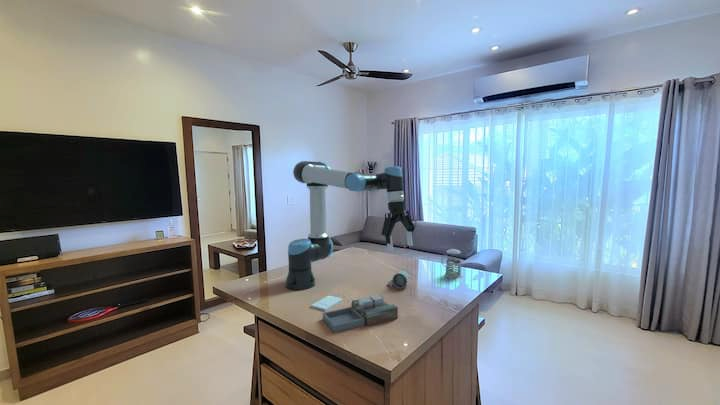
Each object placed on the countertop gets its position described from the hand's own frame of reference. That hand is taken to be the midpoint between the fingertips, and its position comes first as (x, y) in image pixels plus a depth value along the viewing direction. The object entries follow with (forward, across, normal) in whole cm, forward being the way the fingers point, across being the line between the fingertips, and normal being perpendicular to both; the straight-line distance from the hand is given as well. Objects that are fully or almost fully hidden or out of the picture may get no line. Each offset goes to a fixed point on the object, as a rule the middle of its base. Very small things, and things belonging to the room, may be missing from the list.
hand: (400, 248), depth 132 cm
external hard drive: (+22, -28, +22) cm, 41 cm away
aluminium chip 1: (+20, -23, +1) cm, 31 cm away
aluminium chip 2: (+21, -19, 0) cm, 28 cm away
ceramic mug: (+23, +13, +15) cm, 30 cm away
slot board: (+24, -20, 0) cm, 31 cm away
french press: (+25, +48, +6) cm, 54 cm away
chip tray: (+23, -33, +4) cm, 40 cm away
